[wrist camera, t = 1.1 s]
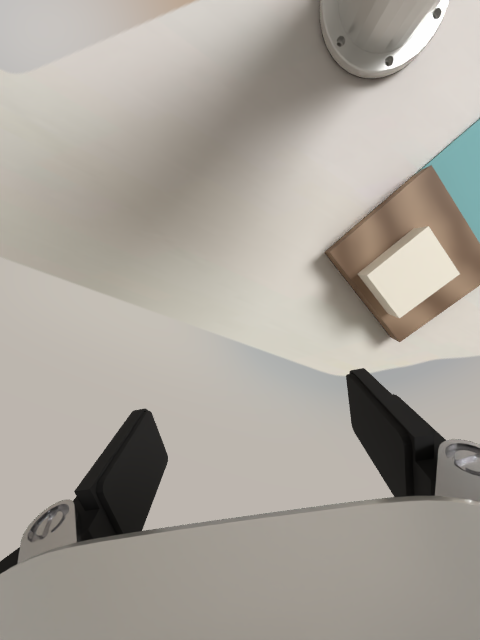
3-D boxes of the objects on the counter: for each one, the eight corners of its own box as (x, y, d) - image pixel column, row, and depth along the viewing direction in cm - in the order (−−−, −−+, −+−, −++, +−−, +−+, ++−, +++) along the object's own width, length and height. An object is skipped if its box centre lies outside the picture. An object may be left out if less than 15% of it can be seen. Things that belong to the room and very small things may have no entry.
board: (418, 171, 28) (431, 164, 26) (482, 271, 31) (497, 272, 29) (324, 252, 31) (329, 252, 29) (390, 337, 33) (399, 342, 32)
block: (413, 228, 28) (428, 226, 25) (442, 272, 29) (460, 273, 27) (357, 273, 29) (366, 275, 27) (387, 313, 31) (399, 318, 28)
